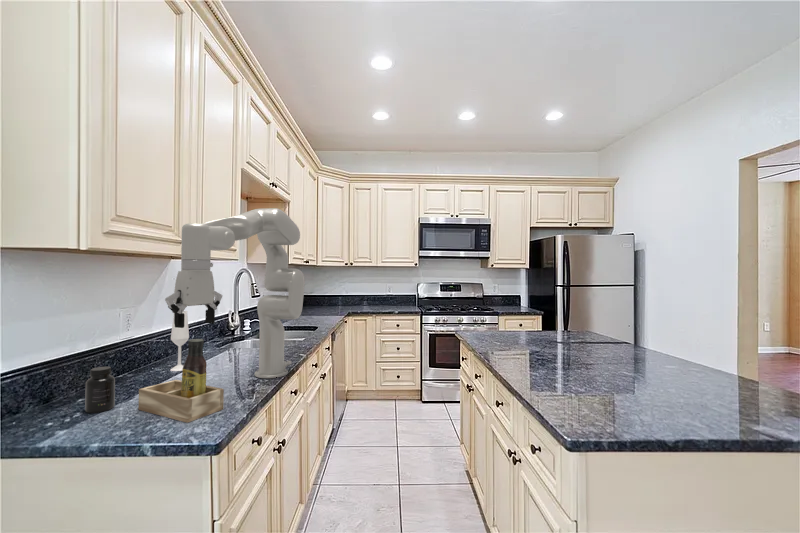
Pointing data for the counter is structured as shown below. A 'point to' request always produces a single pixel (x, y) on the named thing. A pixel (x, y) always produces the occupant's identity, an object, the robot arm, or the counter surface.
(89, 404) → the supplement bottle
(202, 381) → the sauce bottle
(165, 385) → the rail
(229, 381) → the counter surface
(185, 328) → the champagne flute
